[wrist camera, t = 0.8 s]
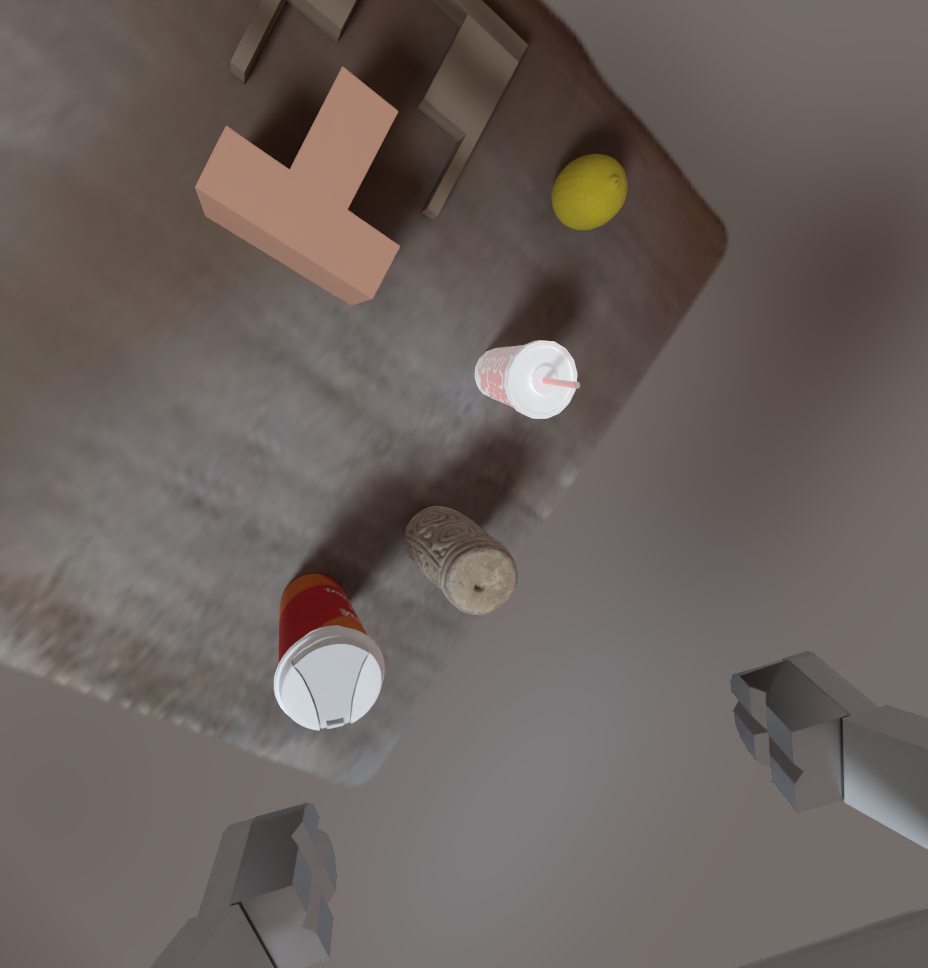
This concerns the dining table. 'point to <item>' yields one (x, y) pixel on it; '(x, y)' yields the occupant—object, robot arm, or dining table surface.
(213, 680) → the dining table surface
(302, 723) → the paper cup
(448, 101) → the t dock
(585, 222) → the lemon
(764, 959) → the robot arm
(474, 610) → the carving
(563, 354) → the beverage cup
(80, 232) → the dining table surface
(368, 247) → the t block
